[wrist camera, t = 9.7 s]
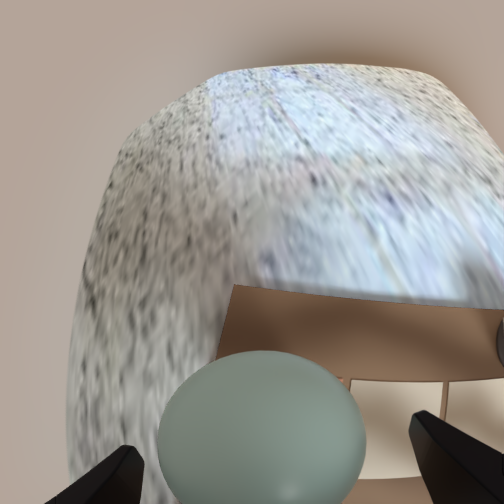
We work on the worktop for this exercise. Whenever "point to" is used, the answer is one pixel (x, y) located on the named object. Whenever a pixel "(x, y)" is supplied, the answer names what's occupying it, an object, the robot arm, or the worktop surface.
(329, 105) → the worktop surface
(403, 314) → the game board
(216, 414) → the pawn
